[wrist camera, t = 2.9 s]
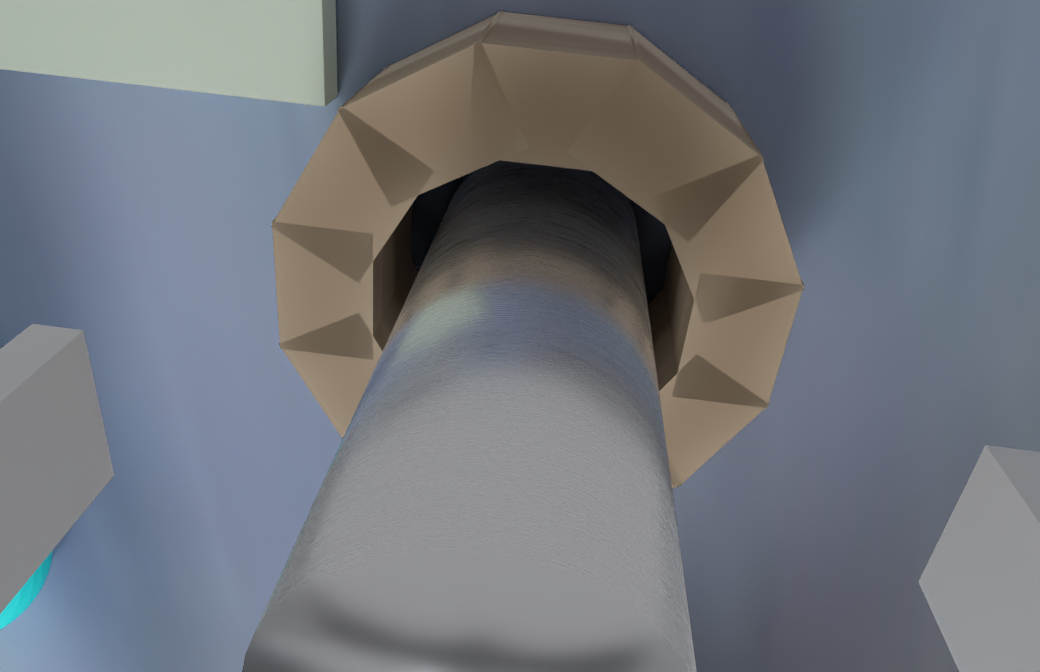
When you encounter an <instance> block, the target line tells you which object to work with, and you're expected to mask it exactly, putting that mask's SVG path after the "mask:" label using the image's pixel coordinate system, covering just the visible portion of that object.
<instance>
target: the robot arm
mask: <svg viewBox="0 0 1040 672" xmlns="http://www.w3.org/2000/svg"><path fill="white" fill-rule="evenodd" d="M113 476H114V472H113V467H112V463H111V458H110V453H109V448H108V444H107V439H106V434H105V430H104V425H103V420H102V416H101V411H100V406H99V401H98V397H97V392H96V387H95V383H94V378H93V373H92V369H91V364H90V359H89V354H88V350H87V345H86V340H85V336H84V331H83V330H77V329H69V328H61V327H54V326H46V325H38V324H32V325H30V326H29V327H28V328H27V329H25V330H24V331H23V332H21V333H20V334H19V335H17V336H16V337H15V338H14V339H12V340H11V341H10V342H8V343H7V344H6V345H5V346H3V347H2V348H1V349H0V614H1V612H2V611H3V610H4V609H5V608H6V606H7V605H8V604H9V603H10V602H11V600H12V599H13V598H14V597H15V595H16V594H17V593H18V592H19V591H20V589H21V588H22V587H23V586H24V584H25V583H26V582H27V581H28V580H29V578H30V577H31V576H32V575H33V574H34V572H35V571H36V570H37V569H38V567H39V566H40V565H41V564H42V563H43V561H44V560H45V559H46V558H47V556H48V555H49V554H50V553H51V552H52V550H53V549H54V548H55V547H56V546H57V544H58V543H59V542H60V541H61V539H62V538H63V537H64V536H65V535H66V533H67V532H68V531H69V530H70V528H71V527H72V526H73V525H74V524H75V522H76V521H77V520H78V519H79V518H80V516H81V515H82V514H83V513H84V511H85V510H86V509H87V508H88V507H89V505H90V504H91V503H92V502H93V500H94V499H95V498H96V497H97V496H98V494H99V493H100V492H101V491H102V490H103V488H104V487H105V486H106V485H107V483H108V482H109V481H110V480H111V479H112V477H113ZM919 584H920V587H921V589H922V591H923V593H924V595H925V597H926V600H927V602H928V604H929V606H930V608H931V611H932V613H933V615H934V617H935V619H936V622H937V624H938V626H939V628H940V630H941V633H942V635H943V637H944V639H945V641H946V644H947V646H948V648H949V650H950V652H951V654H952V657H953V659H954V661H955V663H956V665H957V668H958V670H959V672H1040V452H1036V451H1028V450H1020V449H1012V448H1004V447H996V446H989V445H985V447H984V449H983V451H982V453H981V455H980V458H979V460H978V462H977V464H976V466H975V468H974V470H973V472H972V474H971V476H970V478H969V480H968V482H967V484H966V486H965V488H964V490H963V492H962V494H961V496H960V498H959V500H958V502H957V504H956V506H955V508H954V510H953V512H952V515H951V517H950V519H949V521H948V523H947V525H946V527H945V529H944V531H943V533H942V535H941V537H940V539H939V541H938V543H937V545H936V547H935V549H934V551H933V553H932V555H931V557H930V559H929V561H928V563H927V565H926V567H925V570H924V572H923V574H922V576H921V578H920V580H919Z"/></svg>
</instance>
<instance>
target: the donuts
mask: <svg viewBox="0 0 1040 672" xmlns="http://www.w3.org/2000/svg"><path fill="white" fill-rule="evenodd" d="M52 553H53V550H52V552H51V553H50V554H49V555H48V556H47V558H46V559H45V560H44V561H43V563H42V564H41V565H40V566H39V567H38V569H37V570H36V571H35V572H34V574H33V575H32V576H31V577H30V578H29V580H28V581H27V582H26V583H25V584H24V586H23V587H22V588H21V589H20V591H19V592H18V593H17V594H16V595H15V597H14V598H13V599H12V600H11V602H10V603H9V604H8V605H7V606H6V608H5V609H4V610H3V611H2V612H1V614H0V629H2V628H4V627H5V626H7V625H8V624H10V623H11V622H12V621H13V620H15V619H16V618H17V617H18V616H19V615H20V614H22V613H23V612H24V611H25V610H26V609H27V608H28V607H29V605H30V604H31V603H32V601H33V600H34V599H35V597H36V596H37V595H38V593H39V592H40V590H41V589H42V586H43V584H44V582H45V580H46V577H47V575H48V572H49V569H50V566H51V561H52Z"/></svg>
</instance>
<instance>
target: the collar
mask: <svg viewBox="0 0 1040 672" xmlns="http://www.w3.org/2000/svg"><path fill="white" fill-rule="evenodd" d="M499 160H502V161H510V162H519V163H528V164H536V165H545V166H553V167H562V168H571V169H579V170H588V171H593V172H594V173H596V174H597V175H599V176H600V177H601V178H603V179H604V180H605V181H607V182H608V183H609V184H611V185H612V186H613V187H615V188H616V189H618V190H619V191H620V192H622V193H623V194H624V195H626V196H627V197H628V198H630V199H631V200H632V201H634V202H635V203H637V204H638V205H639V206H641V207H642V208H643V209H645V210H646V211H647V212H649V213H650V214H651V215H653V216H654V217H656V218H657V219H658V220H660V221H661V222H662V223H664V224H665V226H666V229H667V231H668V234H669V236H670V239H671V241H672V246H671V251H670V255H669V260H668V265H667V270H666V275H665V280H664V285H663V289H662V290H661V291H660V292H659V293H658V294H657V295H656V296H655V298H654V299H653V300H652V301H651V302H650V303H649V304H648V312H649V319H650V327H651V334H652V341H653V349H654V356H655V364H656V371H657V379H658V386H659V394H660V401H661V409H662V416H663V424H664V431H665V439H666V446H667V454H668V461H669V469H670V476H671V484H672V488H674V487H677V488H678V487H679V486H681V485H682V483H683V482H684V481H685V480H686V479H688V478H689V477H690V476H691V475H692V474H693V473H694V472H695V471H696V470H697V469H699V468H700V467H701V466H702V465H703V464H704V463H705V462H706V461H707V460H708V459H710V458H711V457H712V456H713V455H714V454H715V453H716V452H717V451H718V450H720V449H721V448H722V447H723V446H724V445H725V444H726V443H727V442H728V441H729V440H731V439H732V438H733V437H734V436H735V435H736V434H737V433H738V432H739V431H740V430H742V429H743V428H744V427H745V426H746V425H747V424H748V423H749V422H750V421H752V420H753V419H754V418H755V417H756V416H757V415H758V414H759V413H760V412H761V411H763V410H764V409H765V408H767V406H768V405H769V399H770V396H771V393H772V389H773V386H774V383H775V380H776V376H777V373H778V370H779V366H780V363H781V360H782V356H783V353H784V350H785V347H786V343H787V340H788V337H789V333H790V330H791V327H792V324H793V320H794V317H795V314H796V310H797V307H798V304H799V301H800V297H801V294H802V291H803V290H804V288H803V287H804V284H803V282H802V280H801V278H800V276H799V272H798V269H797V266H796V263H795V260H794V257H793V254H792V250H791V247H790V244H789V241H788V238H787V235H786V232H785V228H784V225H783V222H782V219H781V216H780V213H779V210H778V206H777V203H776V200H775V197H774V194H773V191H772V188H771V184H770V181H769V178H768V175H767V172H766V169H765V166H764V162H763V160H764V158H763V156H762V155H761V153H760V152H759V150H758V149H757V147H756V146H755V144H754V142H753V141H752V139H751V138H750V136H749V135H748V133H747V131H746V130H745V128H744V127H743V125H742V124H741V122H740V120H739V119H738V117H737V116H736V114H735V113H734V111H733V110H732V108H731V106H730V105H729V104H728V102H727V103H726V102H725V101H723V100H722V99H721V98H720V97H718V96H717V95H716V94H715V93H713V92H712V91H711V90H710V89H708V88H707V87H706V86H705V85H703V84H702V83H701V82H700V81H698V80H697V79H696V78H695V77H693V76H692V75H691V74H690V73H688V72H687V71H686V70H685V69H683V68H682V67H681V66H680V65H678V64H677V63H676V62H675V61H673V60H672V59H671V58H670V57H668V56H667V55H666V54H665V53H663V52H662V51H661V50H660V49H658V48H657V47H656V46H655V45H653V44H652V43H651V42H650V41H648V40H647V39H646V38H645V37H644V36H642V35H641V34H640V33H639V32H637V31H636V30H635V29H634V28H633V26H630V25H629V24H628V25H627V26H626V25H617V24H608V23H599V22H591V21H582V20H573V19H564V18H555V17H546V16H537V15H528V14H519V13H510V12H504V10H503V11H498V13H497V14H495V15H493V16H491V17H489V18H487V19H485V20H483V21H481V22H479V23H477V24H474V25H472V26H470V27H468V28H466V29H464V30H462V31H460V32H458V33H456V34H454V35H452V36H450V37H448V38H446V39H444V40H442V41H439V42H437V43H435V44H433V45H431V46H429V47H427V48H425V49H423V50H421V51H419V52H417V53H415V54H413V55H411V56H409V57H407V58H404V59H402V60H400V61H398V62H396V63H394V64H390V65H389V66H387V67H386V68H385V69H384V70H383V71H382V72H380V73H379V74H378V75H377V76H376V77H375V78H374V79H372V80H371V81H370V82H369V83H368V84H367V85H365V86H364V87H363V88H362V89H361V90H360V91H358V92H357V93H356V94H355V95H354V96H353V97H351V98H350V99H349V100H348V101H347V102H346V103H345V104H343V105H342V106H341V107H340V108H339V109H338V113H337V115H336V116H335V118H334V120H333V122H332V123H331V125H330V127H329V128H328V130H327V132H326V133H325V135H324V137H323V139H322V140H321V142H320V144H319V145H318V147H317V149H316V151H315V152H314V154H313V156H312V157H311V159H310V161H309V162H308V164H307V166H306V168H305V169H304V171H303V173H302V174H301V176H300V178H299V180H298V181H297V183H296V185H295V186H294V188H293V190H292V192H291V193H290V195H289V197H288V198H287V200H286V202H285V203H284V205H283V207H282V209H281V210H280V212H279V214H278V215H277V217H276V218H275V219H274V220H273V221H272V226H271V227H272V229H273V244H274V259H275V274H276V289H277V304H278V319H279V335H280V343H279V345H280V349H282V350H283V351H284V353H285V354H286V356H287V357H288V358H289V360H290V361H291V363H292V364H293V366H294V367H295V369H296V370H297V372H298V373H299V375H300V376H301V378H302V379H303V381H304V382H305V384H306V385H307V387H308V388H309V390H310V391H311V393H312V394H313V396H314V397H315V398H316V400H317V401H318V403H319V404H320V406H321V407H322V409H323V410H324V412H325V413H326V415H327V416H328V418H329V419H330V421H331V422H332V424H333V425H334V427H335V428H336V430H337V431H338V433H339V434H340V435H341V437H342V438H343V437H344V435H345V433H346V431H347V428H348V426H349V424H350V422H351V420H352V417H353V415H354V413H355V411H356V409H357V406H358V404H359V402H360V400H361V398H362V395H363V393H364V391H365V389H366V387H367V384H368V382H369V380H370V378H371V376H372V373H373V371H374V369H375V367H376V365H377V362H378V360H379V358H380V356H381V354H382V351H383V349H384V347H385V345H386V343H387V340H388V338H389V336H390V334H391V332H392V329H393V327H394V325H395V323H396V321H397V318H398V316H399V314H400V312H401V310H402V307H403V305H404V303H405V301H406V299H407V296H408V294H409V292H410V290H411V288H412V286H413V283H414V281H415V279H416V277H417V275H418V270H417V269H416V267H415V265H414V263H413V261H412V260H411V239H412V203H413V202H414V200H415V199H416V198H417V196H418V195H420V194H422V193H425V192H427V191H429V190H431V189H434V188H436V187H438V186H441V185H443V184H445V183H448V182H450V181H452V180H455V179H457V178H459V177H462V176H464V175H466V174H469V173H471V172H473V171H476V170H478V169H480V168H483V167H485V166H487V165H490V164H492V163H494V162H497V161H499Z"/></svg>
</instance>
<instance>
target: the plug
mask: <svg viewBox="0 0 1040 672" xmlns="http://www.w3.org/2000/svg"><path fill="white" fill-rule="evenodd" d="M242 672H697V671H696V663H695V656H694V648H693V641H692V633H691V626H690V618H689V611H688V603H687V596H686V588H685V581H684V573H683V566H682V559H681V551H680V544H679V536H678V529H677V521H676V514H675V506H674V499H673V491H672V484H671V476H670V469H669V461H668V454H667V446H666V439H665V431H664V424H663V416H662V409H661V401H660V394H659V386H658V379H657V371H656V364H655V356H654V349H653V341H652V334H651V327H650V319H649V312H648V304H647V297H646V289H645V282H644V274H643V267H642V259H641V252H640V244H639V237H638V229H637V224H636V218H635V215H634V212H633V209H632V206H631V204H630V202H629V200H628V198H627V196H626V195H624V194H623V193H622V192H620V191H619V190H618V189H616V188H615V187H613V186H612V185H611V184H609V183H608V182H607V181H605V180H604V179H603V178H601V177H600V176H599V175H597V174H596V173H594V172H593V171H588V170H579V169H571V168H562V167H553V166H545V165H536V164H528V163H519V162H510V161H502V160H499V161H497V162H494V163H492V164H490V165H487V166H485V167H483V168H480V169H478V170H476V171H473V172H471V173H470V174H469V175H468V176H467V177H466V178H465V180H464V181H463V182H462V183H461V184H460V186H459V187H458V189H457V191H456V192H455V194H454V196H453V198H452V200H451V202H450V204H449V206H448V209H447V211H446V213H445V215H444V217H443V220H442V222H441V224H440V226H439V228H438V231H437V233H436V235H435V237H434V239H433V242H432V244H431V246H430V248H429V250H428V253H427V255H426V257H425V259H424V261H423V264H422V266H421V268H420V270H419V272H418V275H417V277H416V279H415V281H414V283H413V286H412V288H411V290H410V292H409V294H408V296H407V299H406V301H405V303H404V305H403V307H402V310H401V312H400V314H399V316H398V318H397V321H396V323H395V325H394V327H393V329H392V332H391V334H390V336H389V338H388V340H387V343H386V345H385V347H384V349H383V351H382V354H381V356H380V358H379V360H378V362H377V365H376V367H375V369H374V371H373V373H372V376H371V378H370V380H369V382H368V384H367V387H366V389H365V391H364V393H363V395H362V398H361V400H360V402H359V404H358V406H357V409H356V411H355V413H354V415H353V417H352V420H351V422H350V424H349V426H348V428H347V431H346V433H345V435H344V437H343V439H342V442H341V444H340V446H339V448H338V450H337V453H336V455H335V457H334V459H333V461H332V464H331V466H330V468H329V470H328V472H327V475H326V477H325V479H324V481H323V483H322V486H321V488H320V490H319V492H318V494H317V497H316V499H315V501H314V503H313V505H312V508H311V510H310V512H309V514H308V516H307V519H306V521H305V523H304V525H303V527H302V530H301V532H300V534H299V536H298V538H297V541H296V543H295V545H294V547H293V549H292V552H291V554H290V556H289V558H288V560H287V563H286V565H285V567H284V569H283V571H282V574H281V576H280V578H279V580H278V582H277V585H276V587H275V589H274V591H273V593H272V596H271V598H270V600H269V602H268V604H267V607H266V609H265V611H264V613H263V615H262V618H261V620H260V622H259V624H258V626H257V628H256V631H255V633H254V635H253V637H252V640H251V642H250V645H249V647H248V650H247V652H246V655H245V660H244V665H243V671H242Z"/></svg>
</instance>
